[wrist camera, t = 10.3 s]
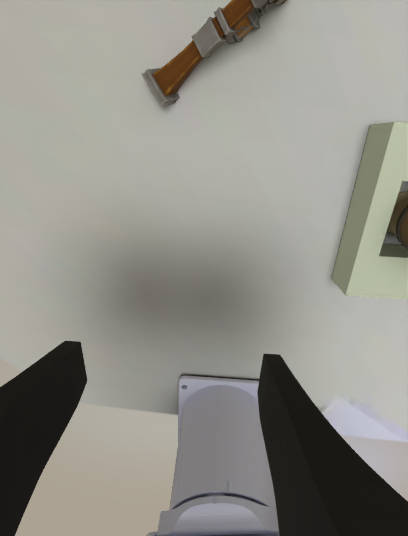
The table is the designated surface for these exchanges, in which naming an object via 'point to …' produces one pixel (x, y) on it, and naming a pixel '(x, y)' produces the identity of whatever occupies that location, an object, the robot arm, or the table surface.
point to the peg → (400, 219)
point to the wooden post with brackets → (206, 45)
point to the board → (375, 219)
